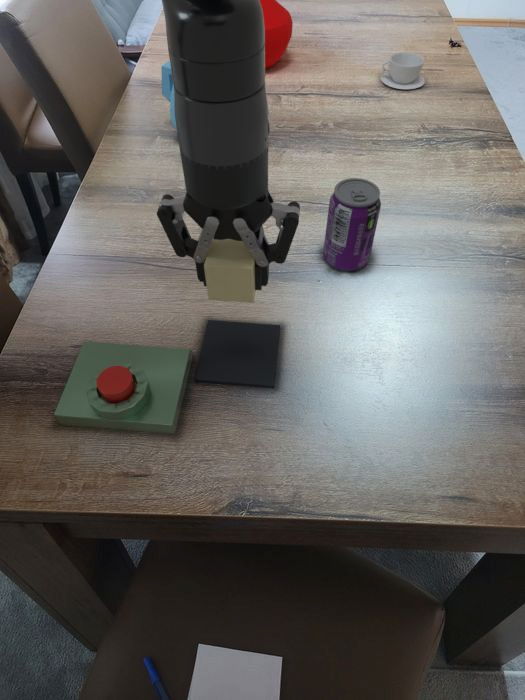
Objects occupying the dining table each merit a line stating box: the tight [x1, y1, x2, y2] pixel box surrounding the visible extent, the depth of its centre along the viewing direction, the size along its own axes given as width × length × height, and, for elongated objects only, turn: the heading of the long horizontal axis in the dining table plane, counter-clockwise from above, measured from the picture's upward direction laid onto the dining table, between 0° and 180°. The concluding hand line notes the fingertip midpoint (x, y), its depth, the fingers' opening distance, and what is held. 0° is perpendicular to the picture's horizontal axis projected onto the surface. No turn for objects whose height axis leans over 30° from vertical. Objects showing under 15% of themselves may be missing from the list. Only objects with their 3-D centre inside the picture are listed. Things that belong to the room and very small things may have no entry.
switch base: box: [53, 340, 193, 435], centre depth 60 cm, size 14×11×4 cm
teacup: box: [380, 51, 426, 90], centre depth 110 cm, size 10×10×5 cm
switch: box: [96, 366, 135, 402], centre depth 56 cm, size 4×4×2 cm
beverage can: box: [322, 177, 382, 271], centre depth 71 cm, size 7×7×12 cm
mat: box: [194, 319, 281, 389], centre depth 64 cm, size 10×10×1 cm
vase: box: [260, 0, 294, 70], centre depth 111 cm, size 18×18×19 cm
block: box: [204, 237, 257, 304], centre depth 53 cm, size 5×5×5 cm
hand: (234, 282), depth 54 cm, fingers closed on block, 5 cm apart
